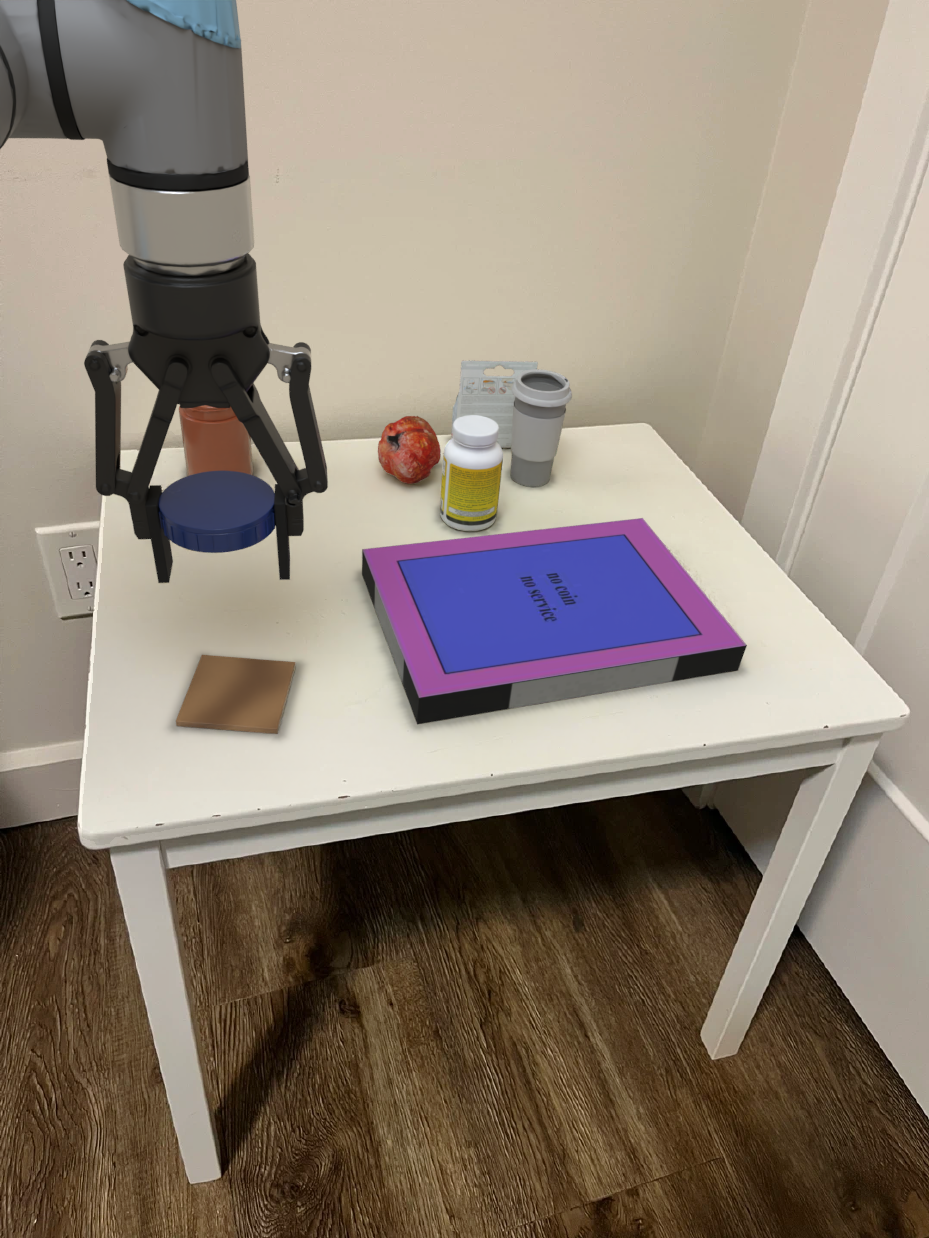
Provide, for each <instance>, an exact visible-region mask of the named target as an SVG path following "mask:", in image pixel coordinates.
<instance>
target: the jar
mask: <svg viewBox="0 0 929 1238" xmlns="http://www.w3.org/2000/svg"><path fill="white" fill-rule="evenodd" d="M178 417H179V423H180V431H181V437H182V446H183V452H184V461H185V469H186V476H189V475H193V474H197V473H201V472H208V471H236V472H242V473H247V474H250V475H253V476H254V462H253V450H252V439H251V437H250V435H249V433H248V432H247V430H246V428H245V426H244V425H243V423H242V422H240V421H239V420H238V418H237V417H236V415H235V413H234V412H233V410H232V408H231V406H230V408H215V407H211V406H207V405H203V406H199V407H195V408H180V405H178Z"/></svg>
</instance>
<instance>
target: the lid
mask: <svg viewBox="0 0 929 1238" xmlns="http://www.w3.org/2000/svg"><path fill="white" fill-rule="evenodd" d="M274 497H275V490H274V489H273V487H272V486H271V485H270V484H269V483H268V482H267V481H265V480H264V479H262V478H260V477H259V476H257V475H254V474H253V475H250V474H247V473H242V472H236V471H208V472H201V473H197V474H193V475H189V476H187V475H186V476H184V477H182V478H180V479H177V480H176V481H174V482H172V483H170V485H168V486H166V487H165V489H163V490H162V494H161V496H160V499H159V510H160V512H159V517H160V523H161V528H162V529H163V532H164V535H165V536H166V537H167V538H168V539H169V540H170V542H171V543H172V544H175V545H176V546H178V547H179V548H180V547H181V548H183V549H186V550H188V551H191V552H192V551H193V552H197V553H204V554H205V553H207V554H223V553H231V552H237V551H241V550H244V549H248V548H250V547H253V546H255V545H257V544H260V543H261V542H263V541H264V540H266V539H267V538H268V537H269V536H270V535H271V534H272V533H273V532H274V530H276V522H275V508H274Z"/></svg>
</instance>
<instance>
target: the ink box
mask: <svg viewBox="0 0 929 1238" xmlns="http://www.w3.org/2000/svg"><path fill="white" fill-rule="evenodd" d="M538 365H539V362H538V361H537V360H536V361H529V360H525V361H522V360H519V361H517V360H475V359H471V360H470V359H468V360H464V359H463V360H461V362H460V375H459V376H460V377H459V390H458V393H457V394H456V397H455V401H454V404H453V406H452V414H451V415H452V416H451V430H450V431H451V432H450V433H451V435H450V437H451V439H452V438H453V437H452V429H453V423H454V421H455V420H456V419H457V418H459V417H462V416H467V415H478V416H484V417H487V418H490V419H492V420H493V421H495V422H496V423H497V424H498V426H499V432H498V439H497V443H498V444H499V445H500V447H501V448H503V449H507V448H508V449H509V448H510V449H511V439H512V422H513V405H514V401H515V396H514V394H513V393H512V390H511V388H512V385H513V383H514V382H515V381H516V380H517V376H518V375H519V374H520V373H521V372H523V371H526V370H533V369H538ZM498 366H499V367H500V366H501V367H502V368H503V369H504V370H512V371H513V374H511V375H486V373H485V371H486V370H488V369H489V370H495V369H496V368H497V367H498Z"/></svg>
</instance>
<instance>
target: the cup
mask: <svg viewBox="0 0 929 1238" xmlns="http://www.w3.org/2000/svg"><path fill="white" fill-rule="evenodd" d="M570 386H571V383H570V380H569V379H568V378H567V377H566V376H564V375H563V374H561V373H559V372H556V371H553V370H548V369H541V368H539V369H538V368H537V369H533V370H526V371H523V372H521V373H520V374H519V375H518V376H517V380H516V381H515V382H514V383H513V385H512V388H511V390H512V393H513V394H514V396H515V401H514V405H513V422H512V439H511V448H510V450H511V459H510V460H511V461H510V473H509V475H510V478H511V479H512V481H513V482H515V483H516V484H519V485H521V486H524V487H528V488H529V487H530V488H538V487H543V486H545V485H547V484H548V483H549V482H550V480H551V475H552V471H553V465H554V461H555V458H556V456H557V454H558V453H557V452H558V449H559V446H560V445H559V444H560V440H561V435H562V431H563V426H564V421H565V418H566V412H567V408H566V406H567V404H569V403H570V402H571V401H572V400H573V399H572V398H573V392H572V389H571V388H570Z"/></svg>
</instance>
